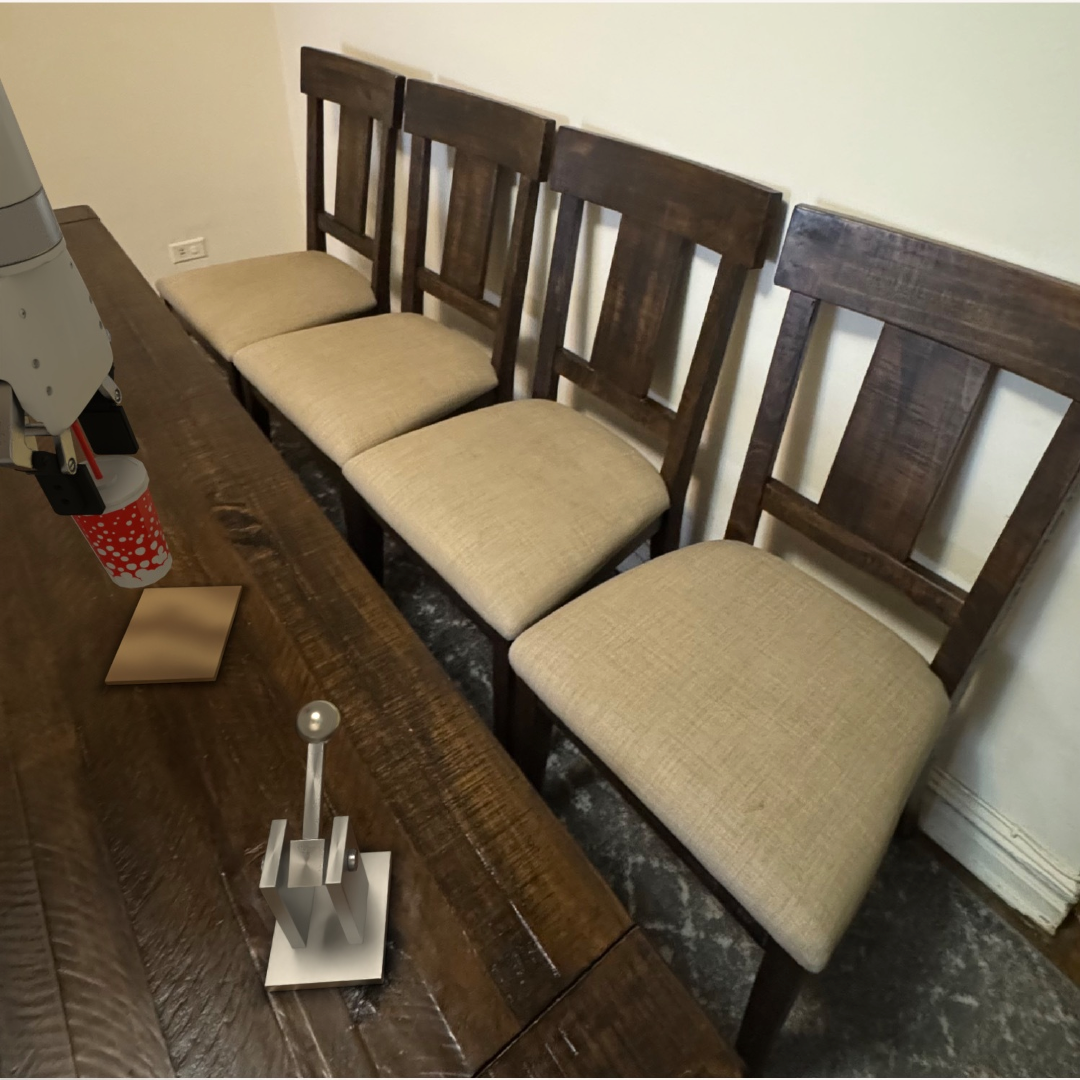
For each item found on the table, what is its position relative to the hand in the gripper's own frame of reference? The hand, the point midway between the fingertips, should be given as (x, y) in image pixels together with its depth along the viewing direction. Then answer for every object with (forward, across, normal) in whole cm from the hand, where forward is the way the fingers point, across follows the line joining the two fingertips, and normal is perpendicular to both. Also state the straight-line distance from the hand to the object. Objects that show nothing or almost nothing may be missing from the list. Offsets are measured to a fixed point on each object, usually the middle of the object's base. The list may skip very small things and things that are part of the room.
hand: (99, 479), depth 53 cm
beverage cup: (+9, 0, 0) cm, 9 cm away
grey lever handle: (+14, +17, +16) cm, 27 cm away
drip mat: (+25, -6, -3) cm, 26 cm away
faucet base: (+25, +22, +16) cm, 37 cm away
